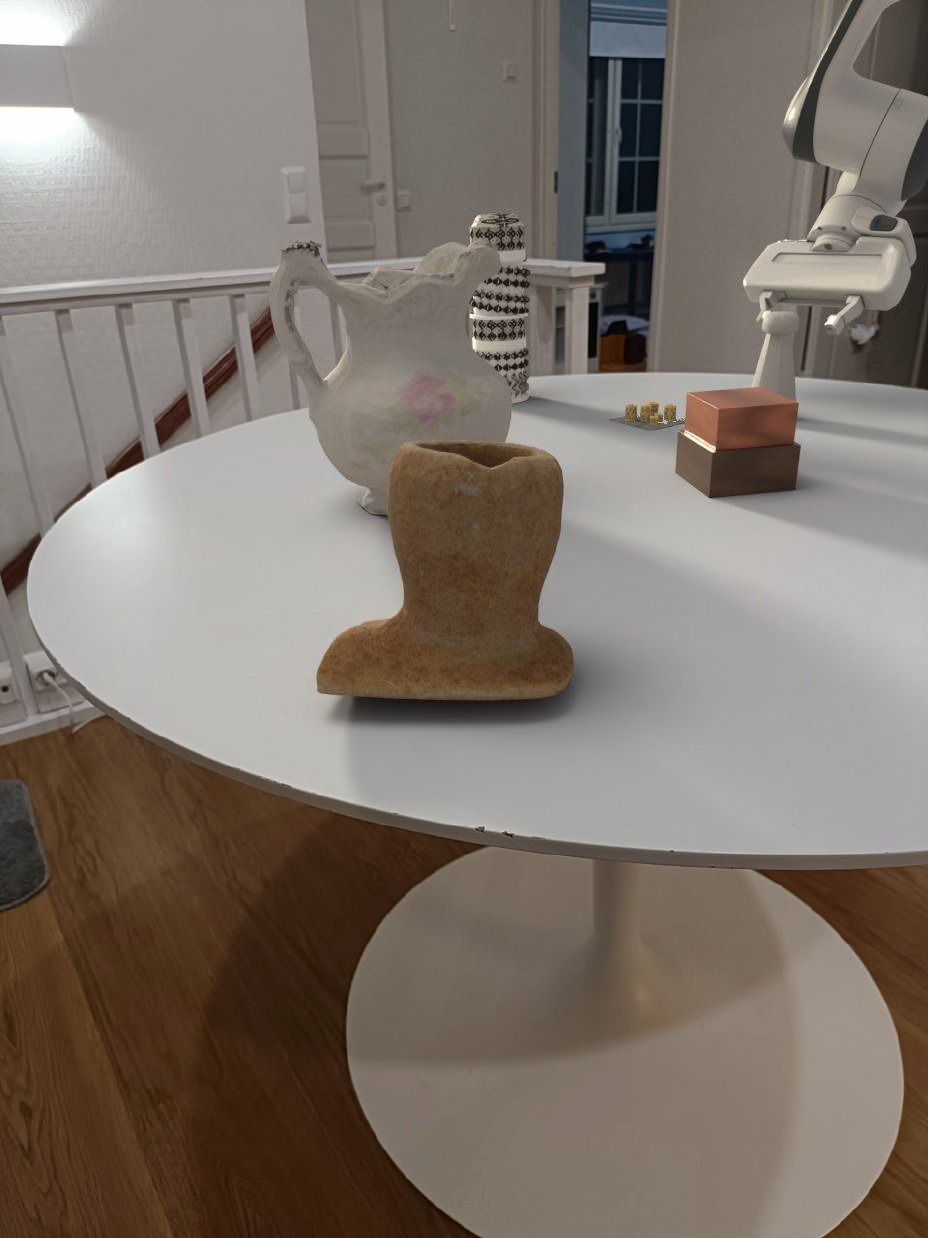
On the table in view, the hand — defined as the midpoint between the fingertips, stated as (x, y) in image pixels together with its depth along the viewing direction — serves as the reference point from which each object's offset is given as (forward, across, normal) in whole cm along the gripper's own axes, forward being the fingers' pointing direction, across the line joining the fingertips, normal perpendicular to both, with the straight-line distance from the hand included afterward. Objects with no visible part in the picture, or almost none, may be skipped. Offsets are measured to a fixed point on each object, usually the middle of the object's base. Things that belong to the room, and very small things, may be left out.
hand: (795, 328), depth 111 cm
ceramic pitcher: (+48, -9, -32) cm, 58 cm away
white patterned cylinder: (+20, -37, -4) cm, 42 cm away
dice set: (+18, -11, -2) cm, 21 cm away
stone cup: (+62, +21, -46) cm, 80 cm away
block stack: (+29, +12, -14) cm, 34 cm away
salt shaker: (+10, 0, +5) cm, 11 cm away
